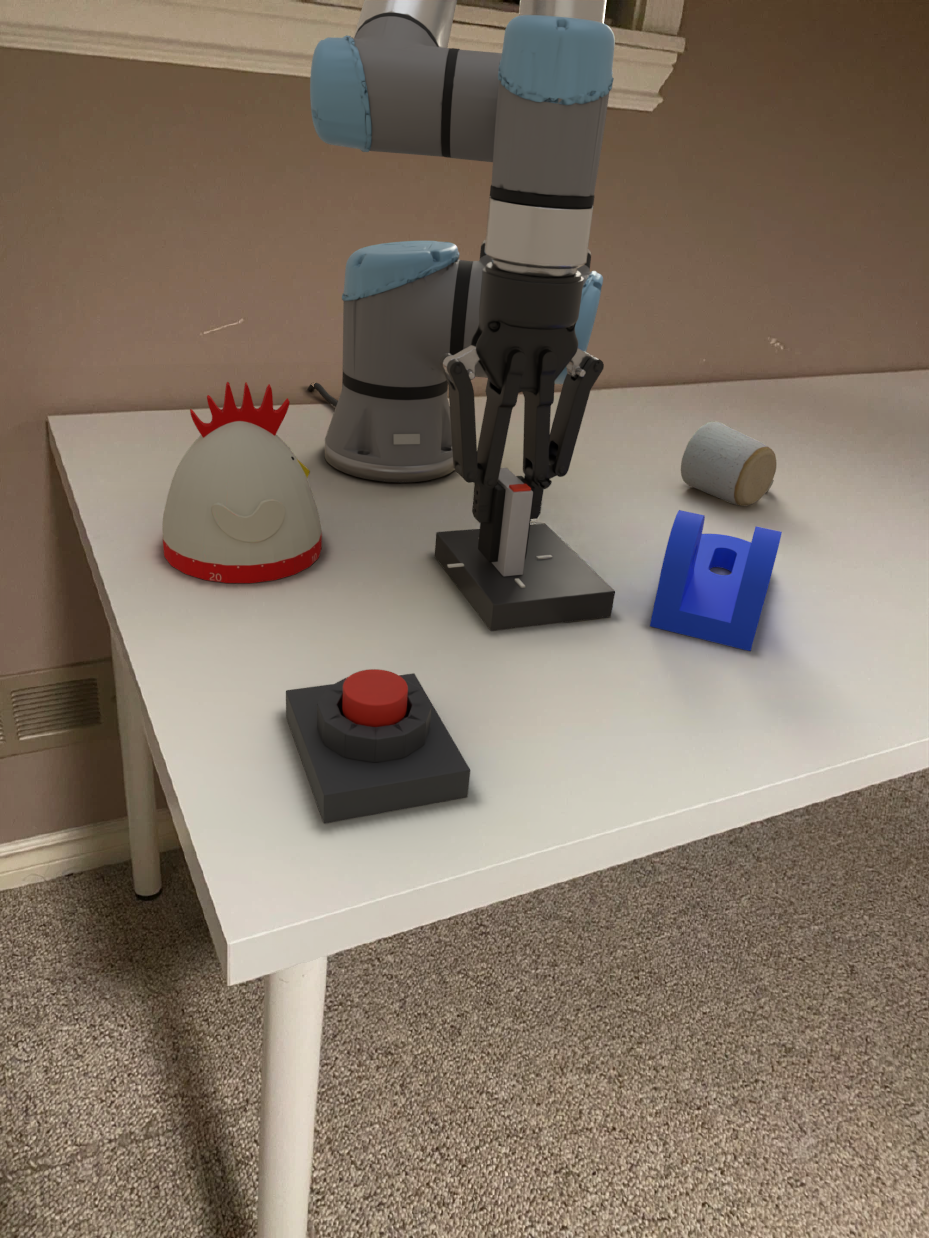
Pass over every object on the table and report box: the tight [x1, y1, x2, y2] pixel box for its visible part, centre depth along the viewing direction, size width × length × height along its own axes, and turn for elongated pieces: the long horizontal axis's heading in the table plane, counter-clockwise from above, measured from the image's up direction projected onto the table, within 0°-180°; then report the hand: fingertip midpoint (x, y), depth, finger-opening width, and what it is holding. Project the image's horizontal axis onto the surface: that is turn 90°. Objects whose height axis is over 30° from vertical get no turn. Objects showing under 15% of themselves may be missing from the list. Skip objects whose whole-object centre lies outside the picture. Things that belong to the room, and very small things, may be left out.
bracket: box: [649, 509, 783, 652], centre depth 83 cm, size 18×8×9 cm, turn 159°
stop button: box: [342, 668, 408, 727], centre depth 59 cm, size 4×4×2 cm
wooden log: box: [680, 420, 777, 507], centre depth 106 cm, size 11×8×8 cm
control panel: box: [433, 523, 616, 632], centre depth 83 cm, size 14×12×3 cm
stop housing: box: [285, 672, 471, 824], centre depth 60 cm, size 11×9×4 cm
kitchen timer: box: [161, 381, 323, 584], centre depth 82 cm, size 14×14×15 cm
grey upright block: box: [492, 467, 533, 576], centre depth 80 cm, size 6×2×8 cm, turn 21°
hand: (501, 553), depth 81 cm, fingers closed
